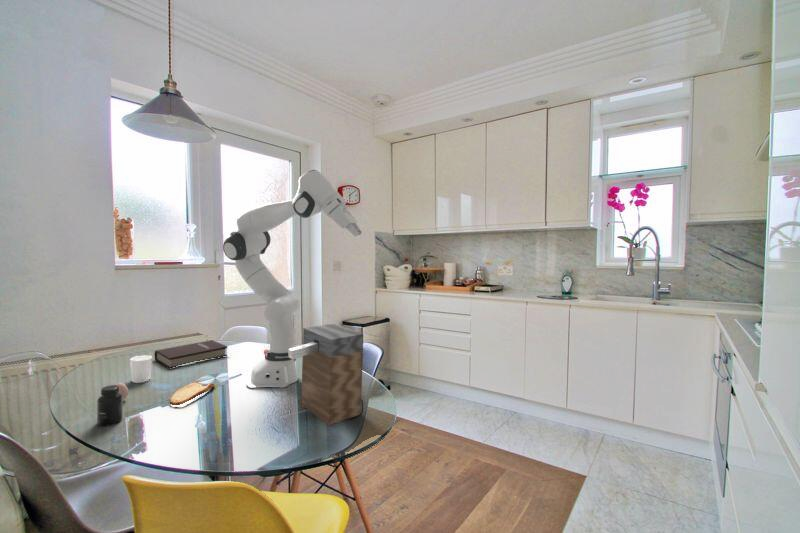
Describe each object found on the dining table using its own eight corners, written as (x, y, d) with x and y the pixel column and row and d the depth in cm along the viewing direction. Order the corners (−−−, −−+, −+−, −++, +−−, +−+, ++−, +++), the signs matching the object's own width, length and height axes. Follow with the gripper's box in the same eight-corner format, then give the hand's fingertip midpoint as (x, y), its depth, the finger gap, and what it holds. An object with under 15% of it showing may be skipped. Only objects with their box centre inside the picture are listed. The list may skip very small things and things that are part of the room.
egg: (108, 405, 135) (108, 386, 135) (113, 399, 140) (113, 381, 140) (125, 403, 137) (125, 384, 137) (129, 397, 142) (129, 379, 142)
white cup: (155, 379, 161) (155, 357, 160) (135, 385, 154) (135, 362, 154) (147, 375, 165) (147, 354, 165) (127, 380, 159) (126, 358, 158)
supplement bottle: (94, 428, 119) (94, 392, 118) (100, 419, 125) (99, 385, 125) (120, 424, 122) (120, 389, 122) (124, 415, 128) (124, 382, 128)
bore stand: (328, 425, 127) (331, 339, 125) (301, 405, 142) (303, 328, 140) (360, 414, 137) (363, 334, 135) (332, 396, 151) (334, 323, 149)
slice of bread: (172, 411, 134) (172, 401, 134) (162, 394, 147) (162, 385, 147) (223, 398, 146) (223, 389, 146) (210, 384, 159) (210, 376, 159)
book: (210, 349, 208) (210, 339, 207) (227, 357, 196) (227, 346, 195) (154, 360, 186) (154, 349, 185) (169, 370, 174) (169, 358, 173)
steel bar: (292, 359, 125) (291, 351, 125) (288, 357, 127) (287, 349, 127) (335, 345, 137) (335, 338, 136) (331, 344, 139) (330, 336, 139)
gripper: (334, 212, 146) (356, 238, 147) (322, 211, 126) (348, 241, 127) (345, 202, 145) (368, 228, 147) (335, 199, 125) (361, 230, 126)
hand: (358, 234), depth 137 cm, fingers open, 8 cm apart
